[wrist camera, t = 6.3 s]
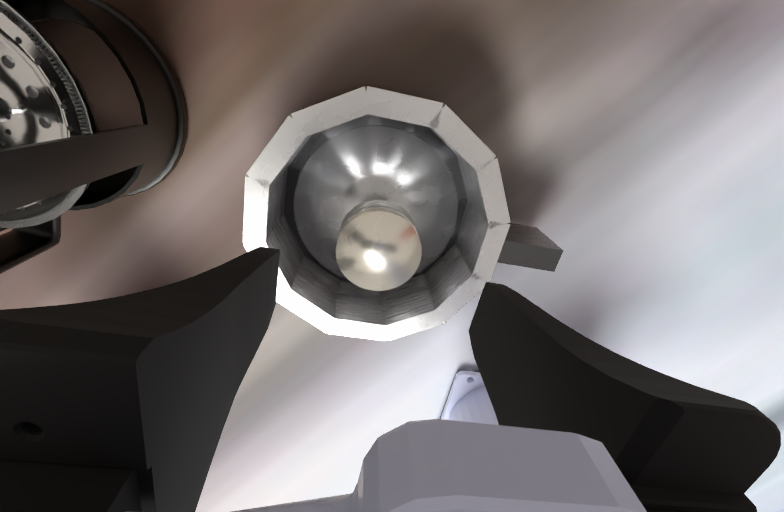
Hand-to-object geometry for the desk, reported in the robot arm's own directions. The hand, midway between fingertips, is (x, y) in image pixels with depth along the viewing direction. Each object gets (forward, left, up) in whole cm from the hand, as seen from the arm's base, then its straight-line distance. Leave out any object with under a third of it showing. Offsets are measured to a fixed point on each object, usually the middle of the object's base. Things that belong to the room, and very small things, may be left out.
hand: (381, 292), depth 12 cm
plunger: (0, 0, -10) cm, 10 cm away
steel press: (-2, 0, -10) cm, 10 cm away
